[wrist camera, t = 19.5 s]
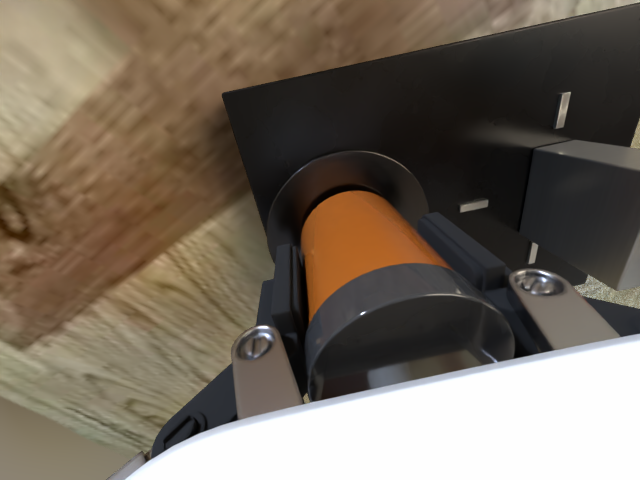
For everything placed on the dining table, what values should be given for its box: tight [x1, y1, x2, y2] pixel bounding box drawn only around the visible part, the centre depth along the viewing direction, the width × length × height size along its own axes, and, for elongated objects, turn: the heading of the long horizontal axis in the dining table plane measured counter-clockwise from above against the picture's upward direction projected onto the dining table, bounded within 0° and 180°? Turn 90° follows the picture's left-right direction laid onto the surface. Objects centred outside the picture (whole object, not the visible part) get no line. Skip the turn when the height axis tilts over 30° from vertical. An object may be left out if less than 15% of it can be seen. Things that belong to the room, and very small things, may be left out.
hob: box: [222, 2, 640, 286], centre depth 15 cm, size 14×18×3 cm
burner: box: [266, 149, 429, 264], centre depth 14 cm, size 8×8×1 cm
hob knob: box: [519, 140, 640, 291], centre depth 11 cm, size 4×2×5 cm, turn 11°
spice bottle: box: [301, 191, 516, 402], centre depth 10 cm, size 5×5×7 cm
